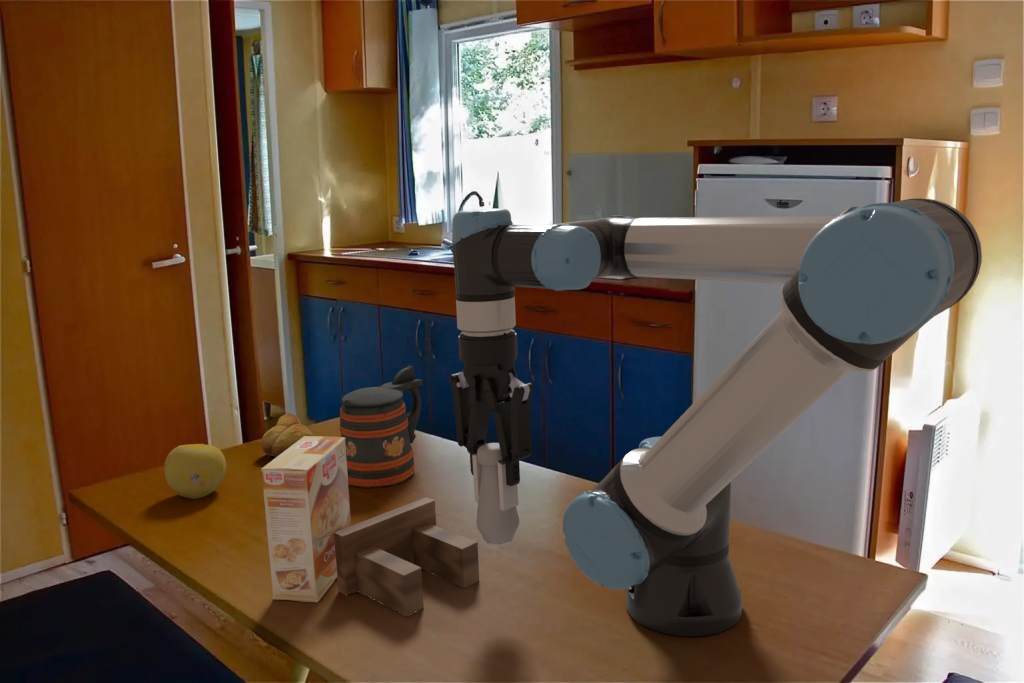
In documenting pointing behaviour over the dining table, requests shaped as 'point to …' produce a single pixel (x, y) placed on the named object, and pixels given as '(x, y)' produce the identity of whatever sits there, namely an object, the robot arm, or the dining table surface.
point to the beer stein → (380, 431)
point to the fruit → (195, 470)
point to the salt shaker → (493, 500)
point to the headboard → (402, 556)
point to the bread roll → (284, 435)
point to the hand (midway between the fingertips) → (496, 502)
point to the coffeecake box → (305, 515)
